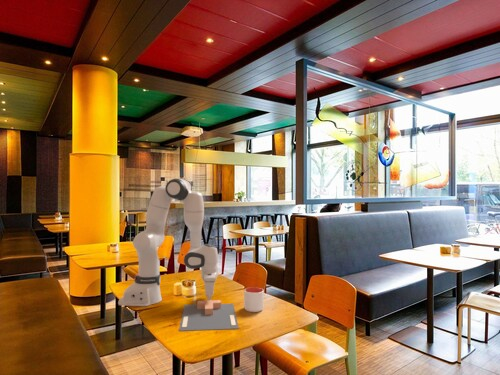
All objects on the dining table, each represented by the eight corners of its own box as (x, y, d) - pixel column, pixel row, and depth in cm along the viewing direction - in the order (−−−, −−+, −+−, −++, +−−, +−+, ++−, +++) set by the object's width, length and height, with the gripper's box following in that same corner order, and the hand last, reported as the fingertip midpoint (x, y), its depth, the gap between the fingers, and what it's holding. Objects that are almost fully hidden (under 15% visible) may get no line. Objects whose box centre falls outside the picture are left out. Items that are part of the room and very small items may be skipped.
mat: (178, 331, 138) (178, 329, 138) (184, 305, 170) (184, 304, 170) (238, 328, 142) (238, 327, 142) (233, 303, 173) (233, 302, 173)
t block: (196, 315, 156) (196, 309, 156) (197, 306, 168) (197, 300, 168) (221, 314, 158) (221, 308, 158) (220, 305, 169) (220, 300, 170)
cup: (261, 313, 160) (262, 293, 160) (242, 312, 162) (242, 292, 162) (264, 306, 170) (265, 288, 170) (246, 305, 172) (246, 286, 172)
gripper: (203, 269, 185) (203, 293, 185) (203, 279, 164) (202, 306, 164) (214, 269, 186) (214, 293, 185) (215, 278, 165) (215, 305, 165)
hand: (209, 299), depth 175 cm, fingers closed
